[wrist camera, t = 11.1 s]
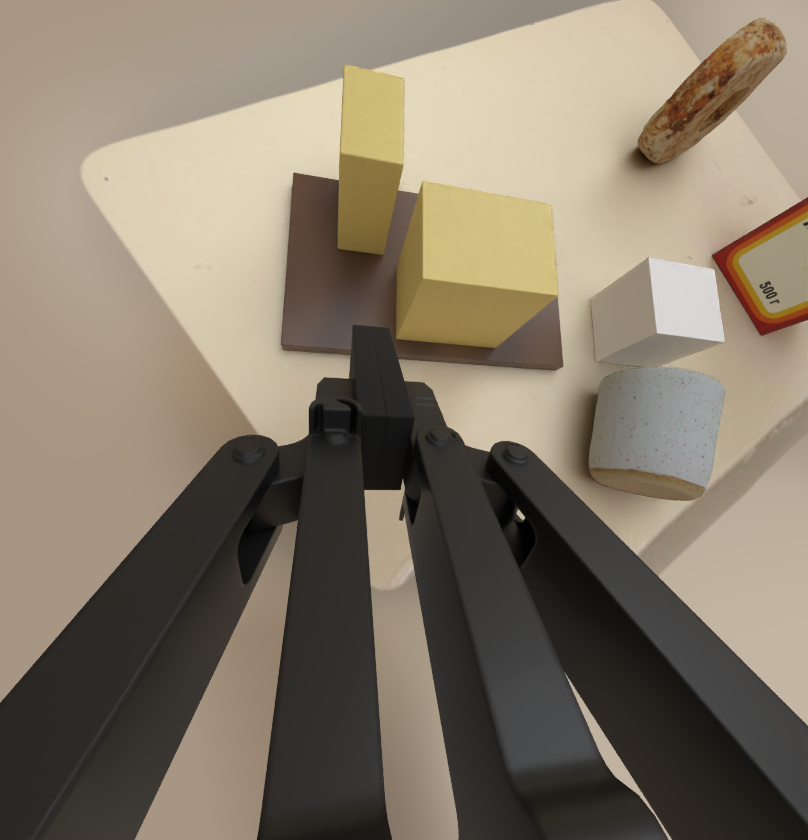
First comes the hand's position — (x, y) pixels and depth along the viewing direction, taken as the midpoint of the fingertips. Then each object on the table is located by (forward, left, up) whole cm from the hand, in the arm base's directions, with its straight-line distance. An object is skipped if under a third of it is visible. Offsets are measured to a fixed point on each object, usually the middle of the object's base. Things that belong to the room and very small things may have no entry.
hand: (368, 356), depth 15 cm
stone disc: (+31, +29, -11) cm, 44 cm away
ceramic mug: (+23, -2, -11) cm, 25 cm away
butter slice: (0, +15, -10) cm, 18 cm away
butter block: (+7, +8, -10) cm, 15 cm away
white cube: (+24, +8, -11) cm, 28 cm away
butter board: (+6, +11, -11) cm, 17 cm away
